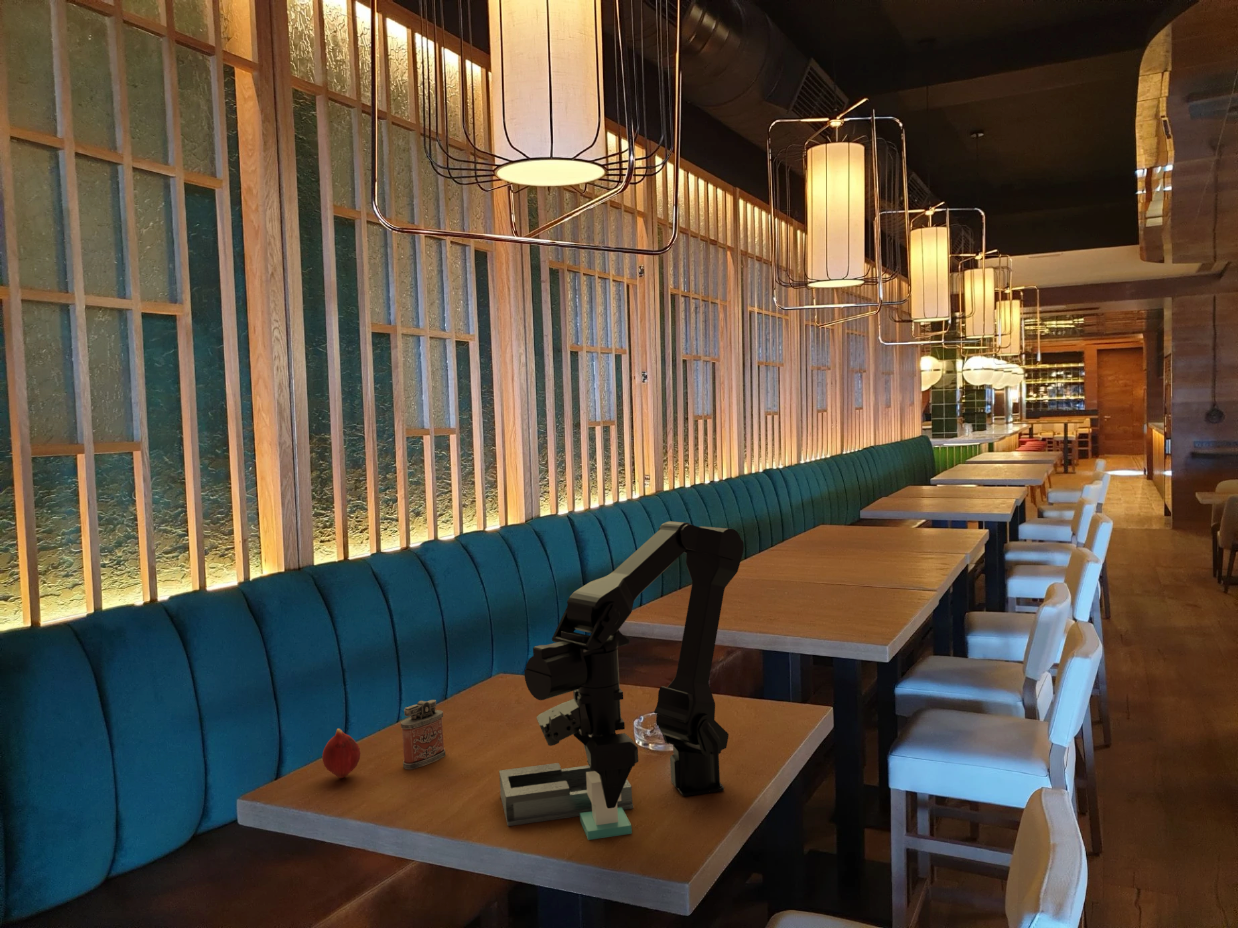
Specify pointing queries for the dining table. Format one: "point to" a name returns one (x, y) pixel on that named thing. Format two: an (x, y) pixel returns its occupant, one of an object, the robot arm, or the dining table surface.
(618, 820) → the slider
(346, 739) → the onion
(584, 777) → the keyhole guide
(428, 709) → the lighter
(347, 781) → the dining table surface
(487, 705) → the dining table surface
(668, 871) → the dining table surface
